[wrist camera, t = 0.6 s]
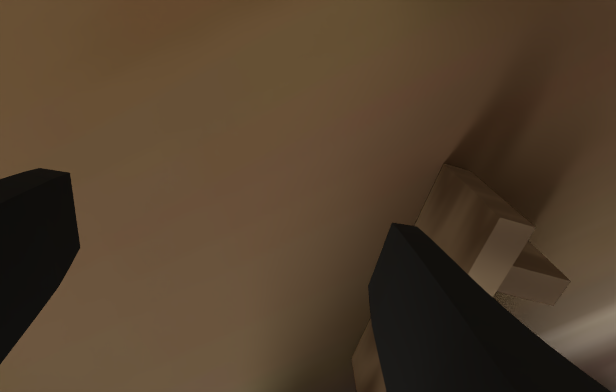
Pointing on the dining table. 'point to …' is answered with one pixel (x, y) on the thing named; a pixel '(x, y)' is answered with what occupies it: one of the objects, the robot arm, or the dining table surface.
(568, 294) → the dining table surface
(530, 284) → the plank with two pegs
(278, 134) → the dining table surface
